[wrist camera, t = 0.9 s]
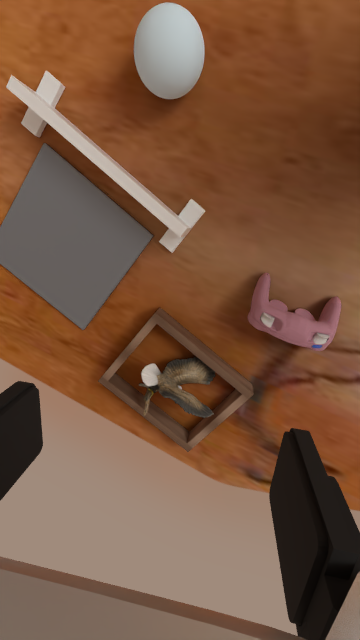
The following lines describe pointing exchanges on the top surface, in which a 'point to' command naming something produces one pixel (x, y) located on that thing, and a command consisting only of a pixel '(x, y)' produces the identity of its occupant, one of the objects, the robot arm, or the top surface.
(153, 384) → the eagle figurine
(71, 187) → the mat
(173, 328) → the rim
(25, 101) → the divider wall
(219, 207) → the top surface
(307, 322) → the video game controller
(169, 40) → the rubber ball
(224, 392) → the top surface
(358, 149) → the top surface
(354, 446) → the top surface
